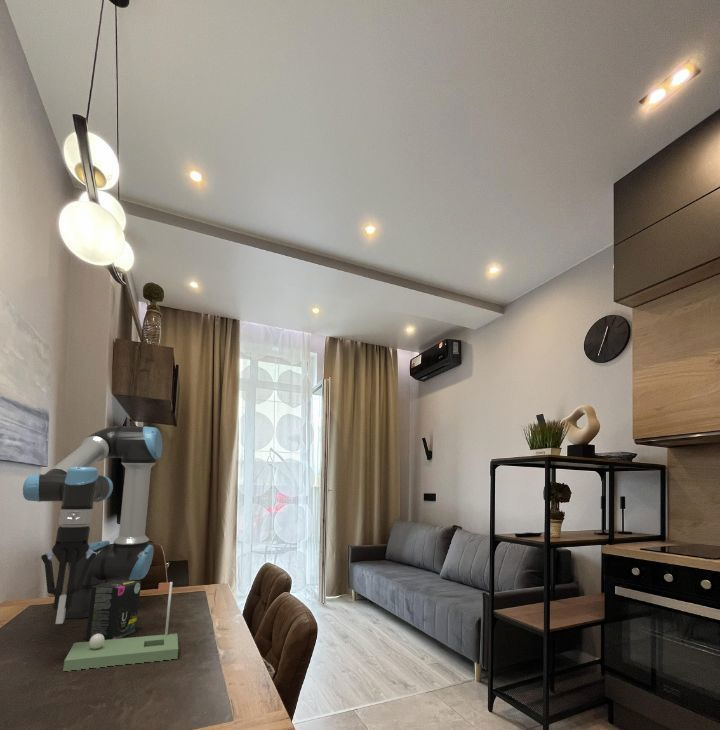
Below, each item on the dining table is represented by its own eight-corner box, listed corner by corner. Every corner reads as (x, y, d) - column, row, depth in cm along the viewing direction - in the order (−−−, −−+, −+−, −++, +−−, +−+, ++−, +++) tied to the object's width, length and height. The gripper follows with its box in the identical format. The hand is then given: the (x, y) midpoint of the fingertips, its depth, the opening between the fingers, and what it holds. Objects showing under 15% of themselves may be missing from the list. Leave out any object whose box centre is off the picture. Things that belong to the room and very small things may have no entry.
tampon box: (112, 643, 138) (118, 587, 141) (84, 640, 140) (91, 585, 143) (136, 631, 148) (142, 580, 152) (110, 629, 150) (116, 578, 154)
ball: (89, 647, 127) (91, 632, 128) (104, 645, 128) (106, 631, 129) (87, 651, 124) (89, 636, 124) (102, 650, 125) (104, 635, 126)
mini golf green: (72, 653, 129) (82, 586, 133) (176, 643, 139) (182, 581, 142) (62, 672, 117) (73, 597, 121) (177, 659, 126) (183, 591, 130)
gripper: (43, 527, 124) (26, 628, 118) (99, 526, 129) (86, 624, 123) (49, 525, 131) (33, 620, 125) (103, 524, 136) (90, 616, 130)
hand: (59, 622), depth 124 cm, fingers closed
